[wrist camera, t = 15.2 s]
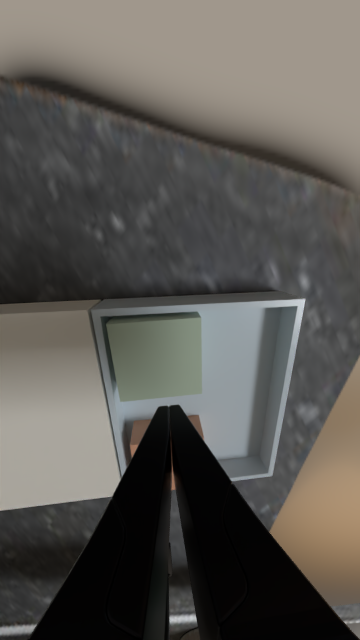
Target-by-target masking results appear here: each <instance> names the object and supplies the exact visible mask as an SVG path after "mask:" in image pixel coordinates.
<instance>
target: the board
mask: <svg viewBox="0 0 360 640" xmlns="http://www.w3.org/2000/svg"><path fill="white" fill-rule="evenodd" d="M100 302H101V300H80V301H59V302H37V303H16V304H0V511H1V510H9V509H17V508H25V507H33V506H41V505H48V504H56V503H64V502H72V501H80V500H88V499H96V498H103V497H111V496H112V495H113V493H114V492H115V490H116V488H117V486H118V484H119V482H120V480H121V478H122V475H121V469H120V464H119V459H118V453H117V448H116V442H115V437H114V431H113V426H112V421H111V415H110V410H109V404H108V399H107V394H106V388H105V383H104V377H103V372H102V367H101V361H100V356H99V350H98V345H97V339H96V334H95V329H94V323H93V318H92V312H91V309H93V308H94V307H95V306H96V305H98V304H99V303H100Z"/></svg>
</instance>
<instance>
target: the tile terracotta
mask: <svg viewBox="0 0 360 640" xmlns="http://www.w3.org/2000/svg"><path fill="white" fill-rule="evenodd" d="M188 418H189V419H190V421H191V422H192V424H193V425H194V427H195V428H196V430H197V431H198V433H199V434H200V435H201V437H202V438H203V440H204V435H203V431H202V427H201V422H200V418H199V415H192V416H188ZM151 420H152V419H148V420H137V421H134V423H133V429H132V436H131V442H130V449H131V456H132V457H133V455H134V453H135V451H136V449H137V447H138V445H139V443H140V441H141V439H142V437H143V435H144V433H145V431H146V429H147V427H148V425H149V423H150V421H151ZM170 436H171V434H170ZM171 454H172V452H171ZM172 490H176V489H175V482H174V476H173V467H172Z"/></svg>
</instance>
